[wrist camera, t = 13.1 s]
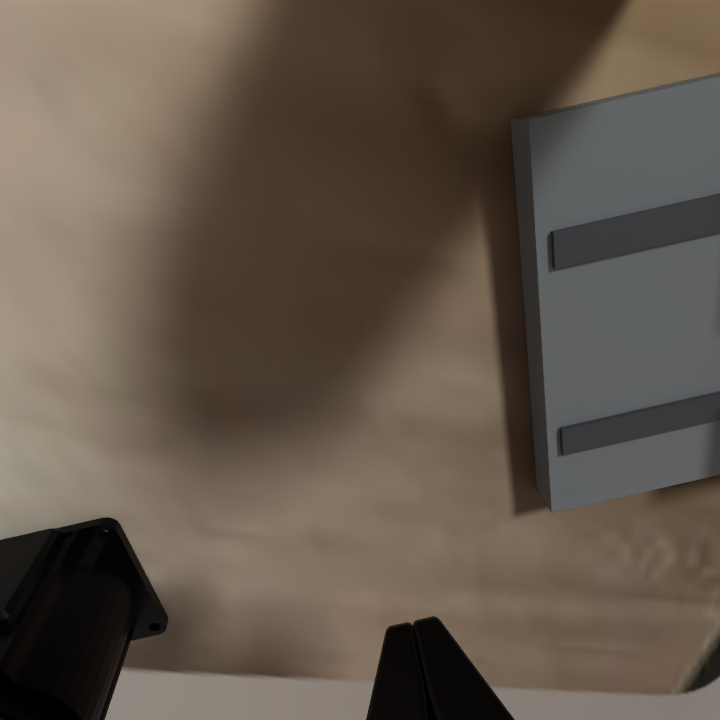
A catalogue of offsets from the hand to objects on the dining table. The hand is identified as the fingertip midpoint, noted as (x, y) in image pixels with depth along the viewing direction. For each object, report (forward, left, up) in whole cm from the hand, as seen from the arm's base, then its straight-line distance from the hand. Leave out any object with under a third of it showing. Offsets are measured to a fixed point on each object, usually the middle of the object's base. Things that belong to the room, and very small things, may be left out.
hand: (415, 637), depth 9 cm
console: (-1, -13, -12) cm, 18 cm away
